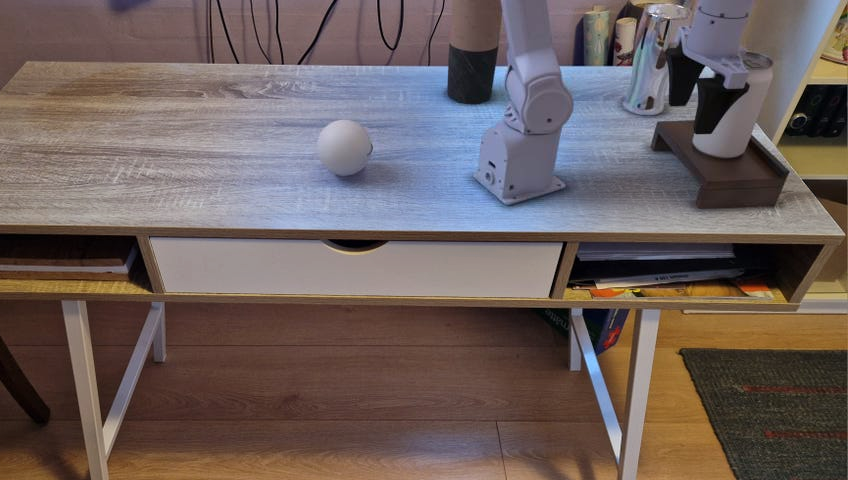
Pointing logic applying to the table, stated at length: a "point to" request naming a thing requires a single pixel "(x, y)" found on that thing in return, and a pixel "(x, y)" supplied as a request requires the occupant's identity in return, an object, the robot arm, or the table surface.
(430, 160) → the table surface
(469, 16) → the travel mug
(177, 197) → the table surface
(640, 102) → the beer glass
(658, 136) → the desk shelf
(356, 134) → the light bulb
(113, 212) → the table surface
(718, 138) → the can
